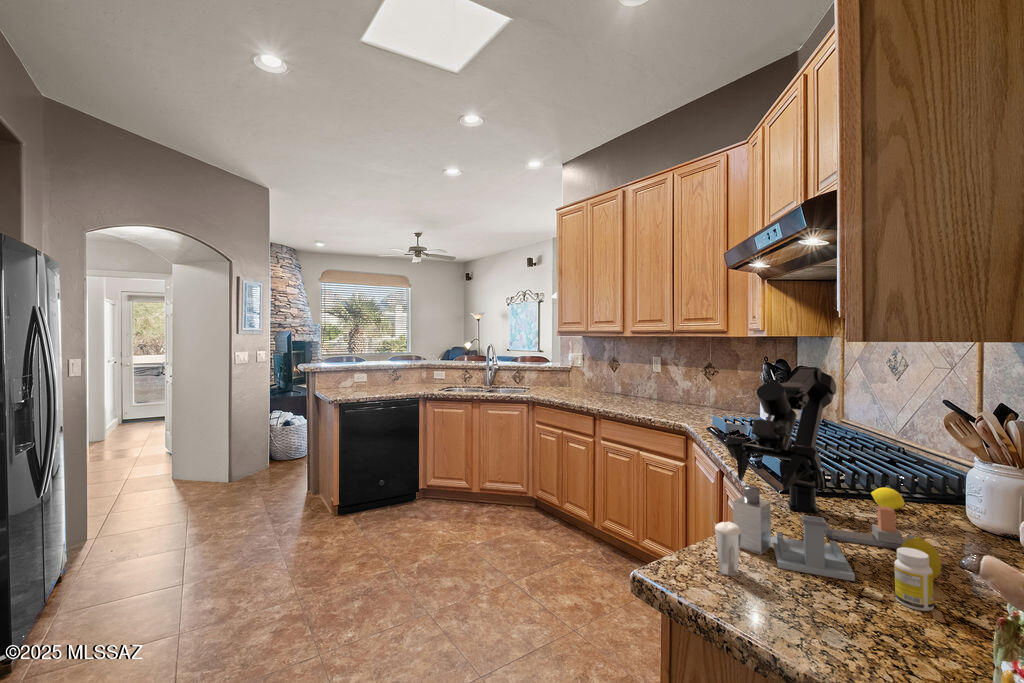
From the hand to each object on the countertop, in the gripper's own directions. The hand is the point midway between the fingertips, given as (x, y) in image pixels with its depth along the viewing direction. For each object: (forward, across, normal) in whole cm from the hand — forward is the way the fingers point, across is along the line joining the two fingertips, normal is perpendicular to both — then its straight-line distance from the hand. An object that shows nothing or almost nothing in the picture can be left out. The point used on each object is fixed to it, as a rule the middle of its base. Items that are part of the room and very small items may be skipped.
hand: (761, 484), depth 100 cm
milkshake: (+23, +1, -6) cm, 24 cm away
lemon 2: (+8, +26, +10) cm, 29 cm away
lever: (-4, +19, +19) cm, 27 cm away
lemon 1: (-23, +15, +40) cm, 48 cm away
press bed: (+11, +10, +6) cm, 16 cm away
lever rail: (-2, +16, +19) cm, 25 cm away
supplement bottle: (+15, +26, +3) cm, 30 cm away
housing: (+12, 0, +5) cm, 13 cm away
